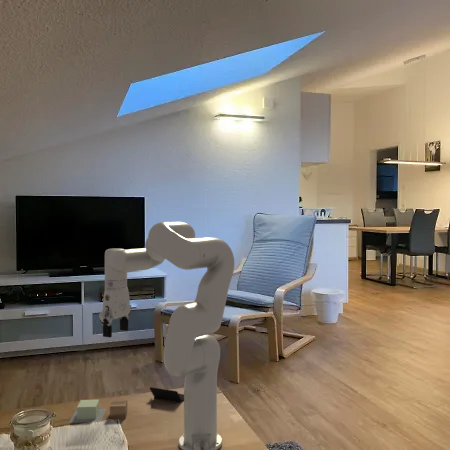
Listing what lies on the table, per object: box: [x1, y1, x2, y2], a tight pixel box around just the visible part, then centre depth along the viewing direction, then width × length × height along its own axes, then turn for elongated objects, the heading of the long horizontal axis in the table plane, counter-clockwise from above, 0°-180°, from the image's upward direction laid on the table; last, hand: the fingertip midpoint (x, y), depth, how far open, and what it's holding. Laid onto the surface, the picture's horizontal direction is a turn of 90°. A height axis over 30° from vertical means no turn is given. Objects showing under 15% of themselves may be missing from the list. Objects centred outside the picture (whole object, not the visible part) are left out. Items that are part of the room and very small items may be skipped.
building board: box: [68, 408, 107, 424], centre depth 153 cm, size 10×10×1 cm
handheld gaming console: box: [149, 386, 184, 404], centre depth 168 cm, size 12×7×10 cm
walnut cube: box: [109, 399, 128, 420], centre depth 153 cm, size 5×5×5 cm
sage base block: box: [76, 399, 100, 420], centre depth 153 cm, size 6×6×4 cm
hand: (115, 333), depth 161 cm, fingers open, 9 cm apart
